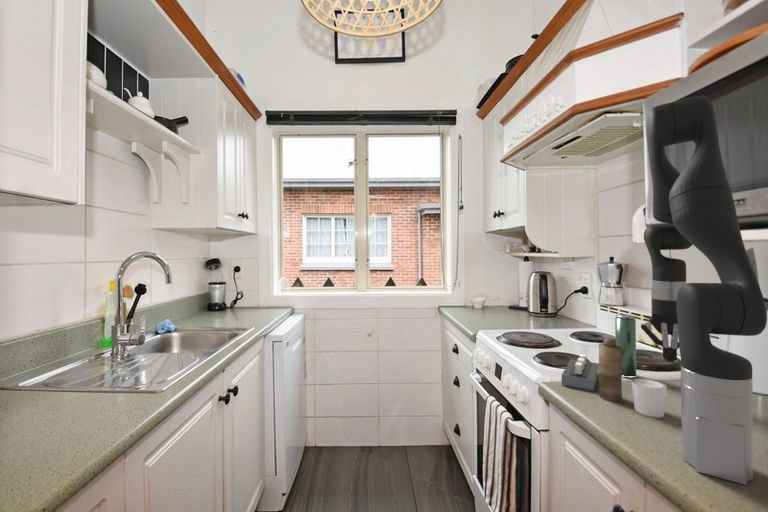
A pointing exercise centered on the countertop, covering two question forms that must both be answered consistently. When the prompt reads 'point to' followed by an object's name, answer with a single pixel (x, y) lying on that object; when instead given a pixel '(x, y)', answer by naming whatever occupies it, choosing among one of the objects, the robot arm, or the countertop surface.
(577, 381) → the switch box
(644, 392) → the white cup
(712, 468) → the robot arm
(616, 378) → the pepper mill
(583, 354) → the far paddle
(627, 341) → the green tin
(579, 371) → the near paddle
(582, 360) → the middle paddle
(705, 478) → the countertop surface
